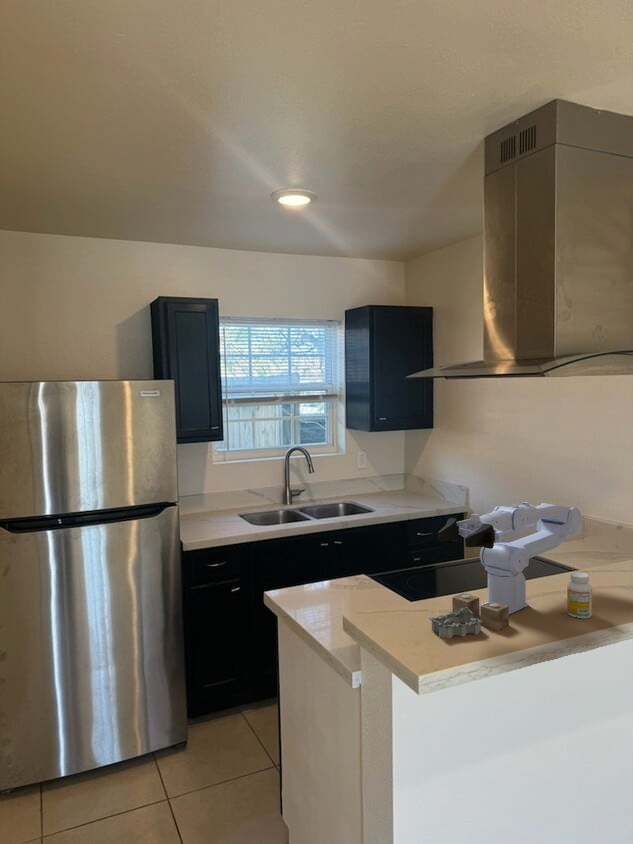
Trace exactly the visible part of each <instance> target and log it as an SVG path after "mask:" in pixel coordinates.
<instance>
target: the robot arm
mask: <svg viewBox="0 0 633 844" xmlns="http://www.w3.org/2000/svg"><path fill="white" fill-rule="evenodd" d="M581 522H582V514H581V511H580V508H578V507H577V506H565V505H559V504H550V503H547V502H545V503H544V502H541V504H538V505H533V504H531V503H530V502H528V501H522V502H521V504H516V503H514V504H511V506H503V505H500V506H499V505H496V506H495V507H494V509H493V510H492V511H491V512H488V513H485V514H483V515H480V514H477V513H471V514H470V517H469V518H468V519H464V520H459V521H458V520H457V518H455V517H450V518H448V519H447V521H446V522H445V523H446V524H445V525H444V526H443V527H442V528H441V529H440V530H438V532H437V541H438V542H447V541H453V542H457V543H458V542H460V537H459V536H461V537H463V538H464V542H465V543H464V544H465V547H466V548H481V549H480V550H479V551H480V552H479V559H480V563H481V565H482V566H484V570H485V571H486V572H487V601H486V602H483V603H481V604H480V606H482V605H484V604H487V603H489V602H491V601H493V602H496V603H499V604H503V605H506V606H509V615H510V614H511V615H512V614H513V613H515V612H517V611H520V610H521V609H524V608H526V607H529V606H530V603H528V602H526V601H527V600H526V599H527V597H526V596H527V595H526V593H527V588H526V587H527V586H526V585H527V584H526V577H525V576H524V573H523V571H524V570H525V568H526V567H528V566H529V563H530V562H529V561H530V559H532V558H534V557H537V556H539V555H541V554H544V553H547V552H548V551H552V550H554V549H556V548H558V547H559V546H560V545H561V544H562V543H563V542H564V541H565V540H566V539H567V537H568V536H570V535H571V536H572V535H573V534H575V533H577V532H578V531H579V528H580V526H581ZM535 525H536V529H535V530H536V531H537V532H535V533H531V534H530V535H527V536H524V537H521V538H518V539H516V540H513V541H511V542H503V541H504V540H505V538H504V537H505V535H504V534H506V533H509V532H518V533H522V532H523V531H524V529H525V528H527V527H528V528H529V527H533V526H535Z"/></svg>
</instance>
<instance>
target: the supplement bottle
mask: <svg viewBox="0 0 633 844" xmlns="http://www.w3.org/2000/svg"><path fill="white" fill-rule="evenodd" d="M589 582H590V575H589V574H587V573H585V572H579V571H578V572H577V571H576V572H575V571H574V572H571V573H570V581H569V582H568V583H567V587H566V588H567V594H566V595H567V605H566V606H567V609H566V610H567V614H568V615H569V616H570V617H573V618H576V617H577V619H589V618H591V617H592V616H593V587H592V585H591V584H590V583H589Z"/></svg>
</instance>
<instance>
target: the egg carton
mask: <svg viewBox="0 0 633 844" xmlns="http://www.w3.org/2000/svg"><path fill="white" fill-rule="evenodd" d="M429 621H430V622H431V631H432V632H437V633H438V636H439V638H445V639H452V638H453V636H461V637H465V636H467V634H475V635H478V634H480V632H481V631H482V630H481V629H482V628H481V627H482V625H481V623H483V622H482V621H481V618H480V619H479V616H477V617H475V618H474V615H473V613H472V612H471V611H470V610H469V609H468V607H465V608H464V607H462V608H459V609H456V611H455V612H453V611H452V612H449V613H447V614H446V613H445V614H444V615H443V614H440V615H438V616H436V617H429Z"/></svg>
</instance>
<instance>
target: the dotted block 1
mask: <svg viewBox="0 0 633 844" xmlns="http://www.w3.org/2000/svg"><path fill="white" fill-rule="evenodd" d="M451 600H452V612H455V611H456V609H459V608H462V607H464V608H465V607H468V609H469V610H470V611H471V612H472V613H473V615H474V618H475V619H476V617H481V614H480V597H479V596H475V595H472V594H468V593H465V592H462V593H460V594H457V595H455V596H453V597H451Z"/></svg>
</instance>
